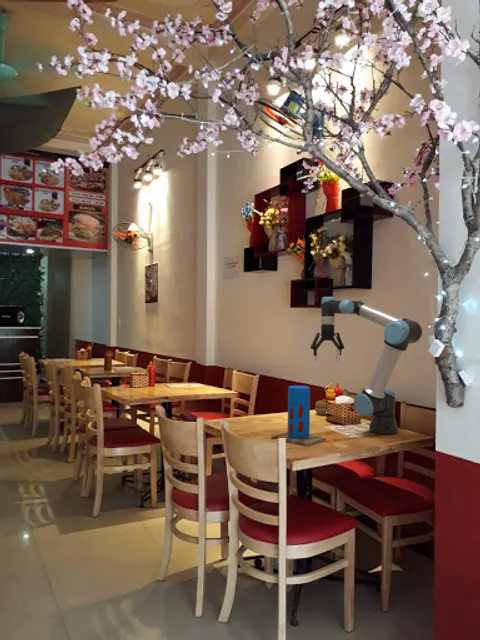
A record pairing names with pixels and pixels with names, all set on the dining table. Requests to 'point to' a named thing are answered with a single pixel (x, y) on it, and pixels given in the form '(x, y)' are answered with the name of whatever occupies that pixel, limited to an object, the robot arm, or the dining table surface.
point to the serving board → (303, 442)
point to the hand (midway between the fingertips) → (327, 361)
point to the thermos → (298, 412)
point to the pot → (321, 407)
